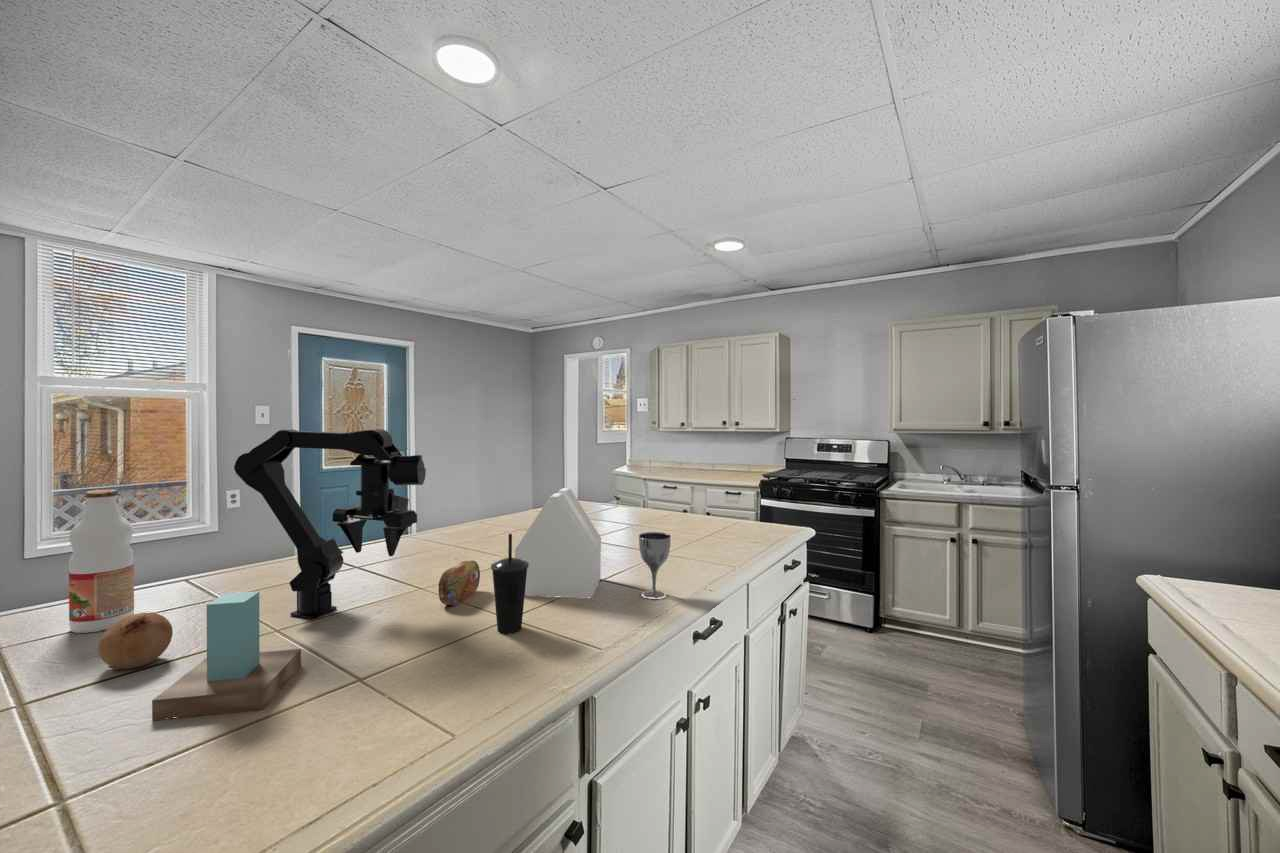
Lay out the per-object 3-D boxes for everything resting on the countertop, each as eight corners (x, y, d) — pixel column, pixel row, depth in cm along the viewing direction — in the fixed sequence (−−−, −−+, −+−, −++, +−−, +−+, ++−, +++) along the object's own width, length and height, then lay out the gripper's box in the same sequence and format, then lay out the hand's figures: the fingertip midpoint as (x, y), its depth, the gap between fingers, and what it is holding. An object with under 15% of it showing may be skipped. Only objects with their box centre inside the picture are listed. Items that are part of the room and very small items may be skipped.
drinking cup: (535, 625, 111) (535, 531, 110) (515, 639, 103) (516, 539, 103) (504, 620, 113) (504, 528, 113) (482, 633, 106) (483, 536, 105)
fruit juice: (127, 627, 107) (126, 492, 106) (61, 638, 101) (59, 495, 101) (139, 613, 114) (138, 486, 114) (78, 621, 109) (77, 489, 109)
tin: (448, 611, 118) (448, 574, 118) (435, 609, 119) (435, 573, 119) (481, 589, 133) (481, 556, 133) (469, 588, 133) (470, 556, 133)
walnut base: (209, 673, 88) (208, 656, 88) (300, 665, 92) (301, 648, 92) (152, 720, 75) (152, 700, 75) (262, 709, 78) (262, 689, 78)
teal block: (224, 666, 85) (224, 593, 85) (259, 663, 86) (259, 591, 86) (206, 681, 80) (206, 604, 80) (244, 678, 81) (243, 602, 81)
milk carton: (514, 596, 128) (515, 495, 128) (531, 577, 144) (532, 487, 143) (591, 598, 127) (592, 497, 127) (600, 579, 143) (601, 488, 142)
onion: (143, 687, 89) (143, 644, 86) (82, 676, 88) (79, 632, 84) (185, 645, 98) (186, 604, 95) (131, 634, 97) (130, 593, 93)
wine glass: (675, 593, 131) (676, 534, 131) (659, 603, 125) (660, 540, 124) (648, 587, 136) (649, 530, 135) (632, 596, 129) (632, 536, 129)
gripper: (433, 482, 122) (433, 549, 122) (370, 479, 127) (369, 542, 127) (398, 489, 111) (398, 561, 111) (330, 484, 116) (330, 553, 117)
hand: (374, 554), depth 117 cm, fingers open, 9 cm apart
